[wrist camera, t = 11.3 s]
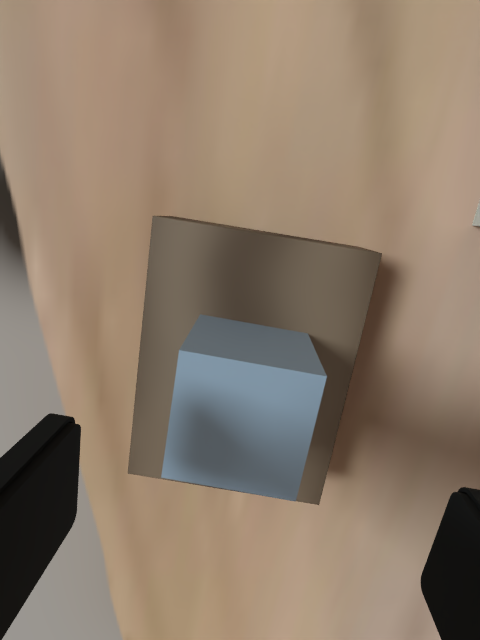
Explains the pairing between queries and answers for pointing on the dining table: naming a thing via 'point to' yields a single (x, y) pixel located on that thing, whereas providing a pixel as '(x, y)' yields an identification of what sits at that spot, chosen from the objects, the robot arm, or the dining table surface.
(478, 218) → the cream block
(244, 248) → the walnut base block
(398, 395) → the dining table surface
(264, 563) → the dining table surface
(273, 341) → the slate blue block
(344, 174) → the dining table surface
